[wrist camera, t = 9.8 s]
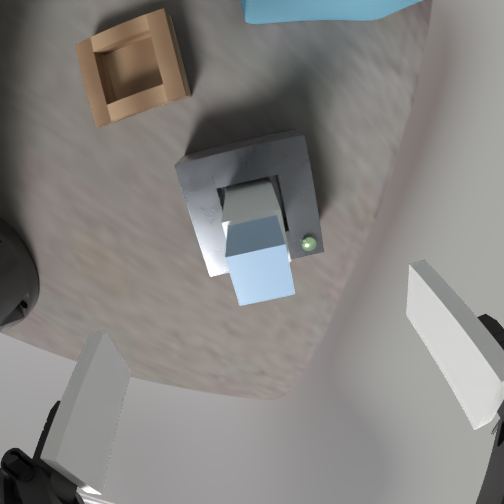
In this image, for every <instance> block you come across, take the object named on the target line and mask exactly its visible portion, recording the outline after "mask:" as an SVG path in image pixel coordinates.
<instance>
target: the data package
mask: <svg viewBox="0 0 504 504" xmlns="http://www.w3.org/2000/svg"><path fill="white" fill-rule="evenodd" d="M420 1H423V0H241V2H242V8H243V13H244V19H245V21H246V22H247V23H250V24H266V23H277V22H290V21H310V20H358V21H368V20H377V19H381V18H383V17H385V16H387V15H389V14H392V13H394V12H396V11H399V10H401V9H403V8H405V7H408V6H410V5H413V4H415V3H418V2H420Z"/></svg>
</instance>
